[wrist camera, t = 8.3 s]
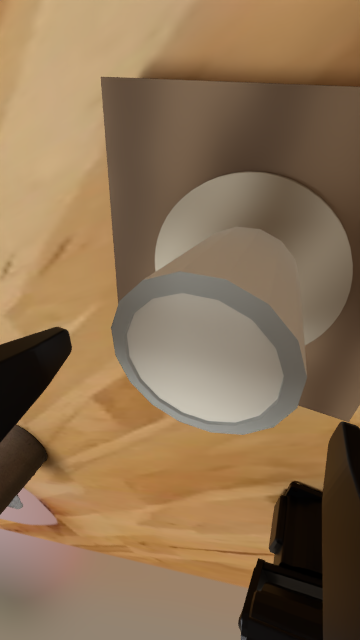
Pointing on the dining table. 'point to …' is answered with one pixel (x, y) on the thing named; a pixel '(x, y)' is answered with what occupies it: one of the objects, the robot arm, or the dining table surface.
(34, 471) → the pillar candle
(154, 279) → the white cup
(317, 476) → the dining table surface
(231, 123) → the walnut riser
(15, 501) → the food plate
